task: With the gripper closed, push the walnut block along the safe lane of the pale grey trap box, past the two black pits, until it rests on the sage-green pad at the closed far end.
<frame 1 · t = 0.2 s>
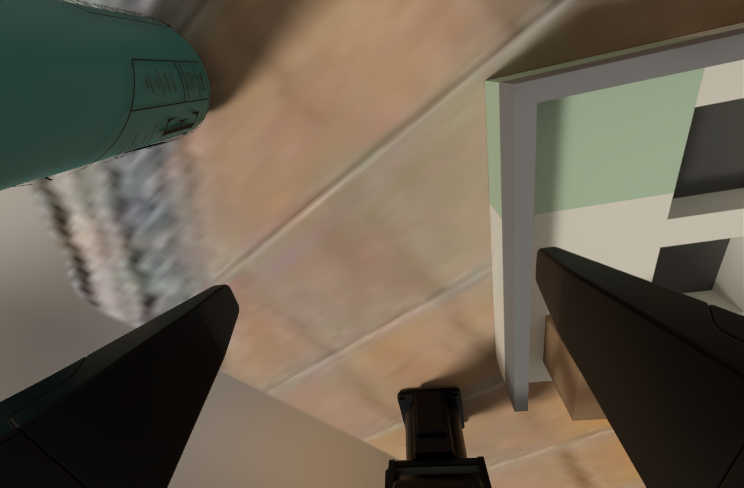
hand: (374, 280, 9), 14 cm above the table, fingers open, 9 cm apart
beverage bottle: (179, 81, 20), on the table
trap box: (618, 231, 23), on the table
walnut block: (578, 336, 24), point 3 cm above the table, touching trap box
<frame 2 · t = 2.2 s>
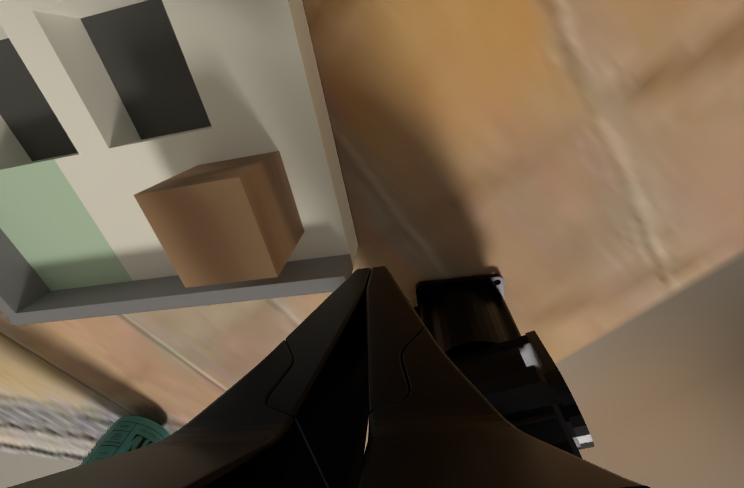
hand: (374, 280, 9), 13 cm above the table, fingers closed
beverage bottle: (154, 417, 36), on the table
trap box: (154, 149, 21), on the table
walnut block: (253, 199, 19), point 3 cm above the table, touching trap box
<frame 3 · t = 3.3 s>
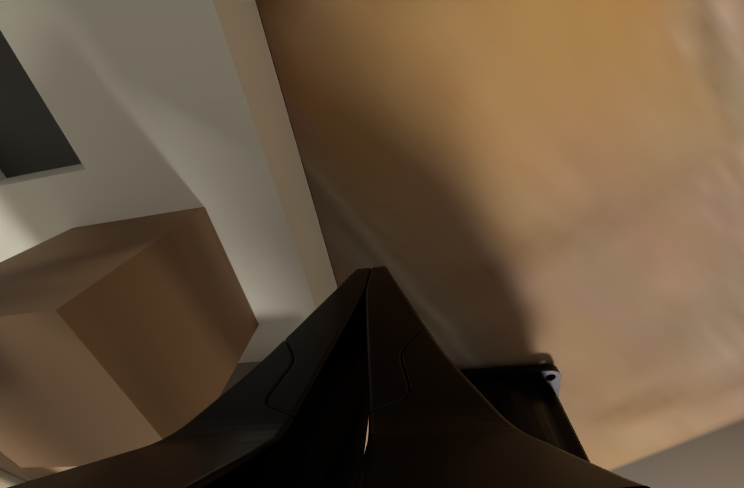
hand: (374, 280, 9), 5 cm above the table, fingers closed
trap box: (33, 191, 14), on the table
walnut block: (172, 279, 12), point 3 cm above the table, touching trap box
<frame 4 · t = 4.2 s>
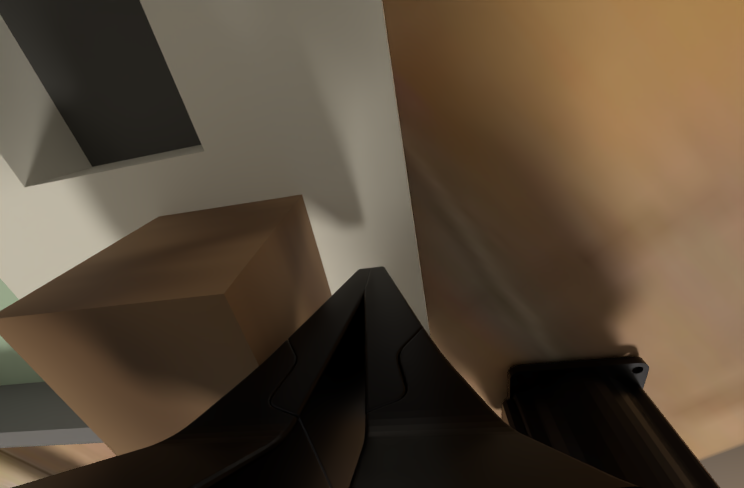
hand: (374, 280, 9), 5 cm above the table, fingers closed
trap box: (116, 180, 13), on the table
walnut block: (254, 270, 11), point 3 cm above the table, touching gripper
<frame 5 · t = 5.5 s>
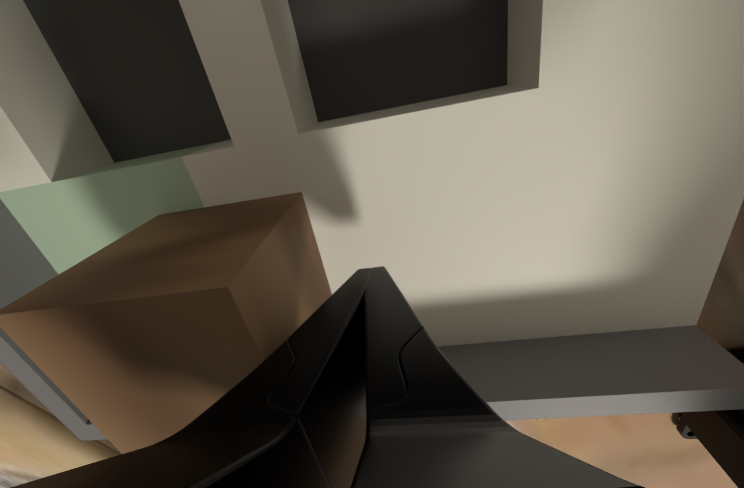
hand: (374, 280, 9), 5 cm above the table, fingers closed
trap box: (331, 140, 12), on the table
walnut block: (254, 268, 11), point 3 cm above the table, touching gripper, trap box
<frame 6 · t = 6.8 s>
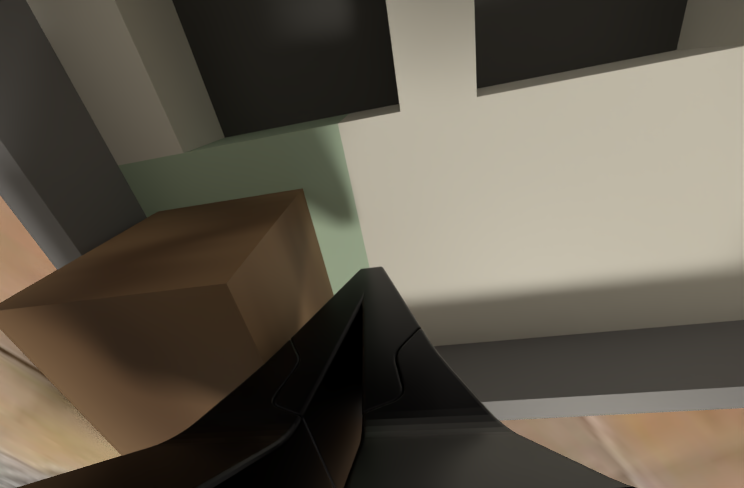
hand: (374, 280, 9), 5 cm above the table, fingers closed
trap box: (465, 113, 11), on the table
walnut block: (255, 266, 11), point 3 cm above the table, touching gripper, trap box
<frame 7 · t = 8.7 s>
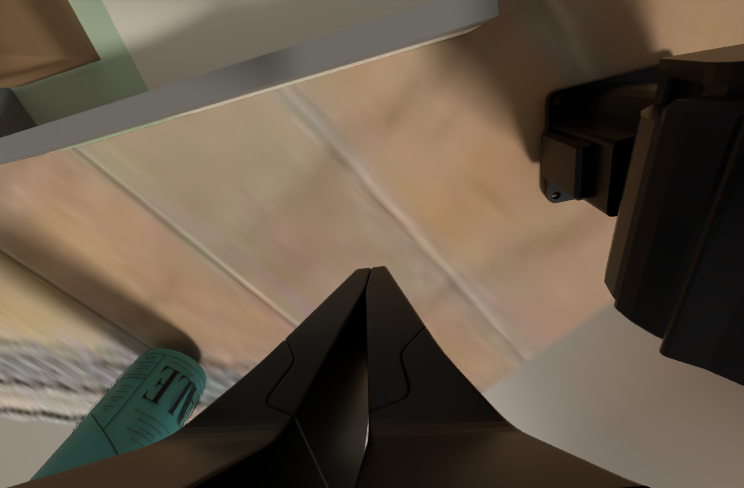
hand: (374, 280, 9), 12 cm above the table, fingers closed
beverage bottle: (184, 356, 30), on the table
walnut block: (21, 13, 14), point 3 cm above the table, touching trap box
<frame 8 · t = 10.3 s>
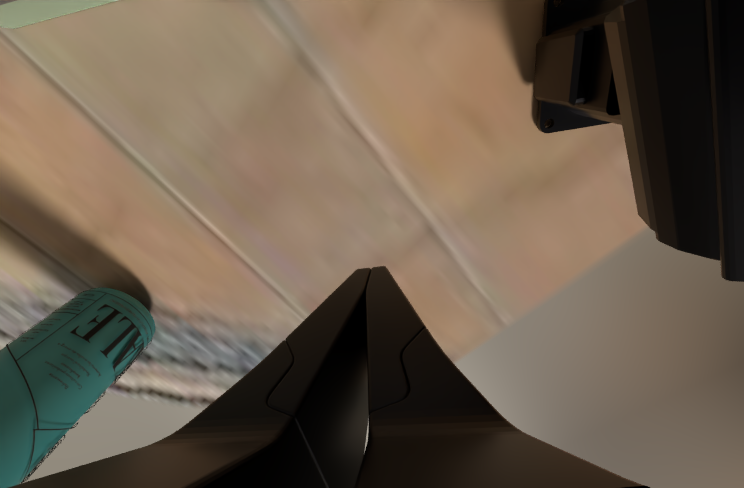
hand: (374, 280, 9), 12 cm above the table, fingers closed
beverage bottle: (134, 303, 27), on the table
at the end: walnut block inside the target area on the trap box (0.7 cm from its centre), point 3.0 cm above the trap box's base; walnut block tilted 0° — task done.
